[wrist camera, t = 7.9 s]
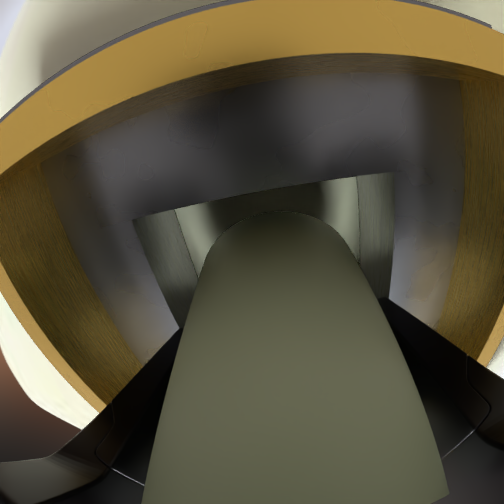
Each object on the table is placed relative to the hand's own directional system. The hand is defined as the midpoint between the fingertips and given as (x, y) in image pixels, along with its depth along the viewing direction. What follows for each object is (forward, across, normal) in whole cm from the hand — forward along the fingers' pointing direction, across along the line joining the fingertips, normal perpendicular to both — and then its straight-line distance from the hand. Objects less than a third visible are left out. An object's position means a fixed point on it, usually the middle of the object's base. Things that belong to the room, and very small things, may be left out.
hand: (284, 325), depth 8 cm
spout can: (+2, 0, +1) cm, 2 cm away
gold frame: (+4, 0, 0) cm, 5 cm away
